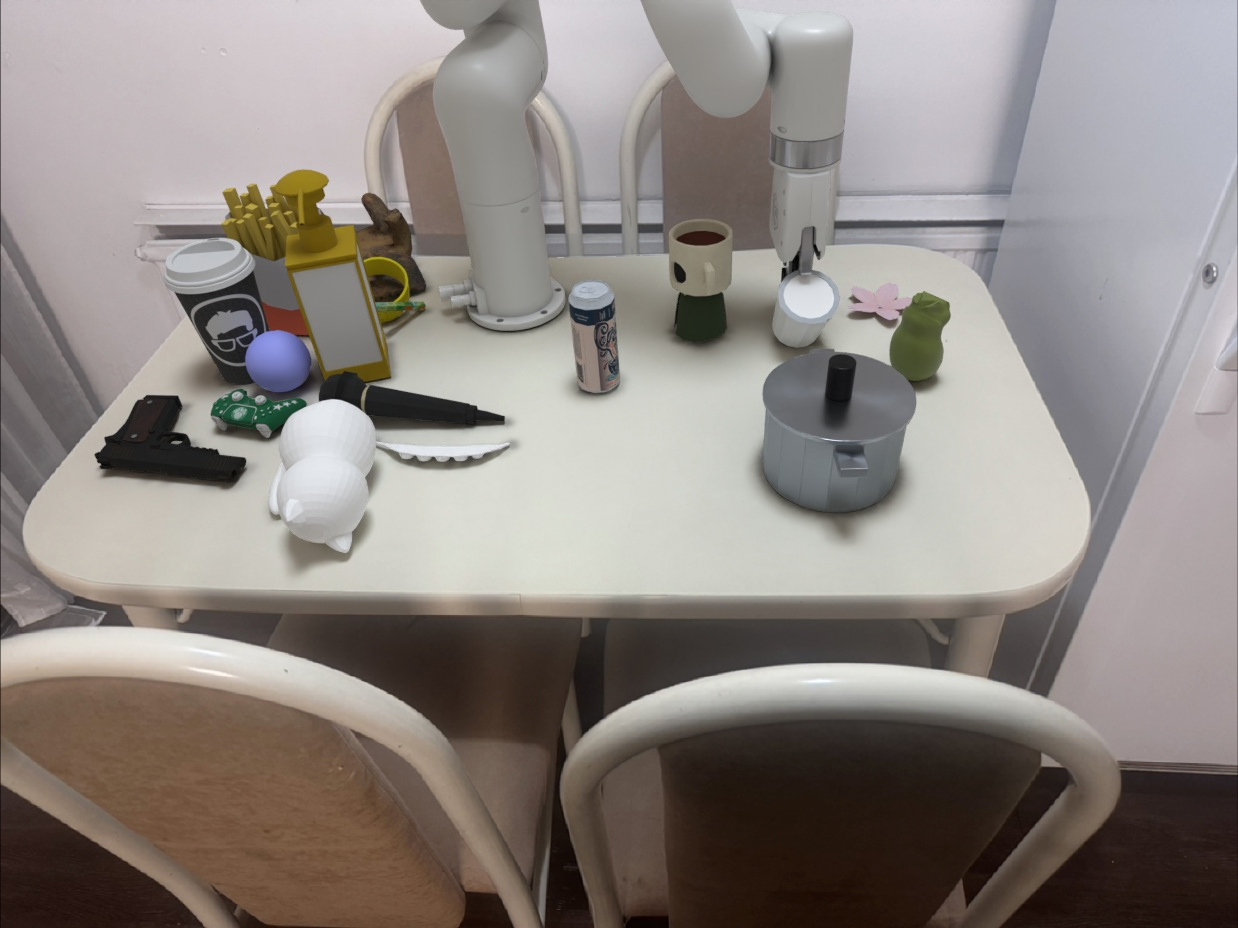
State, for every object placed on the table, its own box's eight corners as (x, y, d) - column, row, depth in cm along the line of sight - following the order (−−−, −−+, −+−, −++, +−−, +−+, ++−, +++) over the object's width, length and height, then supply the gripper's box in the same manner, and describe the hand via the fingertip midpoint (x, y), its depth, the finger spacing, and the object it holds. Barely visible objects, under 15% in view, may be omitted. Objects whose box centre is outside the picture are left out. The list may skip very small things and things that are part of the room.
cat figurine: (405, 420, 87) (387, 542, 77) (323, 472, 92) (297, 593, 82) (333, 370, 81) (304, 495, 72) (251, 429, 87) (213, 552, 77)
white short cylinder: (765, 299, 102) (776, 267, 96) (823, 301, 102) (838, 269, 95) (767, 351, 100) (778, 322, 93) (826, 353, 100) (842, 324, 93)
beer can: (615, 397, 95) (608, 302, 87) (573, 394, 96) (562, 299, 88) (624, 372, 98) (617, 278, 90) (583, 369, 99) (573, 276, 91)
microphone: (512, 394, 95) (334, 369, 96) (502, 392, 89) (313, 366, 90) (505, 443, 95) (328, 418, 96) (496, 444, 90) (307, 418, 90)
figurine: (379, 178, 123) (425, 235, 110) (397, 225, 129) (442, 286, 115) (289, 211, 120) (325, 274, 107) (311, 258, 126) (347, 324, 112)
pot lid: (770, 453, 74) (773, 411, 71) (755, 363, 85) (757, 322, 82) (931, 448, 74) (941, 405, 71) (896, 358, 84) (903, 317, 81)
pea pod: (502, 452, 86) (504, 466, 86) (510, 436, 90) (511, 450, 91) (355, 451, 87) (357, 466, 87) (369, 436, 91) (371, 450, 92)
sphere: (333, 375, 99) (287, 369, 93) (292, 405, 102) (245, 401, 95) (310, 323, 101) (263, 314, 94) (271, 354, 103) (222, 347, 97)
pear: (875, 374, 95) (889, 294, 89) (907, 355, 98) (922, 276, 91) (917, 396, 92) (934, 315, 85) (948, 377, 94) (967, 296, 88)
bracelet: (385, 317, 106) (388, 332, 109) (420, 273, 110) (421, 288, 113) (333, 291, 107) (337, 307, 110) (370, 248, 110) (372, 264, 113)
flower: (818, 303, 107) (819, 292, 106) (879, 279, 111) (880, 268, 110) (874, 339, 100) (876, 327, 99) (937, 312, 104) (939, 301, 103)
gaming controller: (298, 382, 94) (269, 422, 90) (311, 406, 97) (284, 446, 93) (226, 371, 96) (195, 410, 92) (241, 395, 99) (211, 433, 95)
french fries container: (339, 337, 107) (295, 199, 95) (258, 335, 109) (204, 199, 97) (353, 318, 111) (312, 182, 99) (273, 316, 112) (223, 182, 100)
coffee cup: (307, 352, 105) (266, 238, 96) (258, 397, 99) (210, 281, 89) (242, 341, 108) (197, 230, 98) (191, 385, 101) (137, 270, 92)
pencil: (322, 299, 95) (422, 299, 111) (316, 306, 96) (417, 304, 112) (328, 309, 95) (428, 307, 111) (322, 315, 95) (422, 312, 112)
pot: (773, 535, 78) (779, 464, 72) (754, 412, 91) (758, 345, 86) (915, 532, 77) (932, 460, 72) (875, 409, 91) (887, 340, 85)
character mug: (663, 313, 107) (660, 214, 99) (719, 306, 108) (721, 207, 99) (679, 361, 99) (678, 259, 91) (740, 354, 100) (744, 251, 91)
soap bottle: (328, 417, 95) (256, 215, 79) (326, 355, 104) (262, 164, 89) (394, 403, 96) (336, 202, 81) (386, 344, 105) (333, 153, 90)
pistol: (290, 420, 96) (232, 489, 87) (150, 405, 99) (79, 471, 90) (284, 403, 95) (225, 471, 86) (142, 388, 98) (70, 453, 88)
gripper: (759, 123, 96) (754, 271, 108) (780, 177, 85) (772, 336, 97) (827, 118, 96) (814, 267, 108) (857, 172, 84) (839, 332, 96)
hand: (794, 299), depth 102 cm, fingers closed
